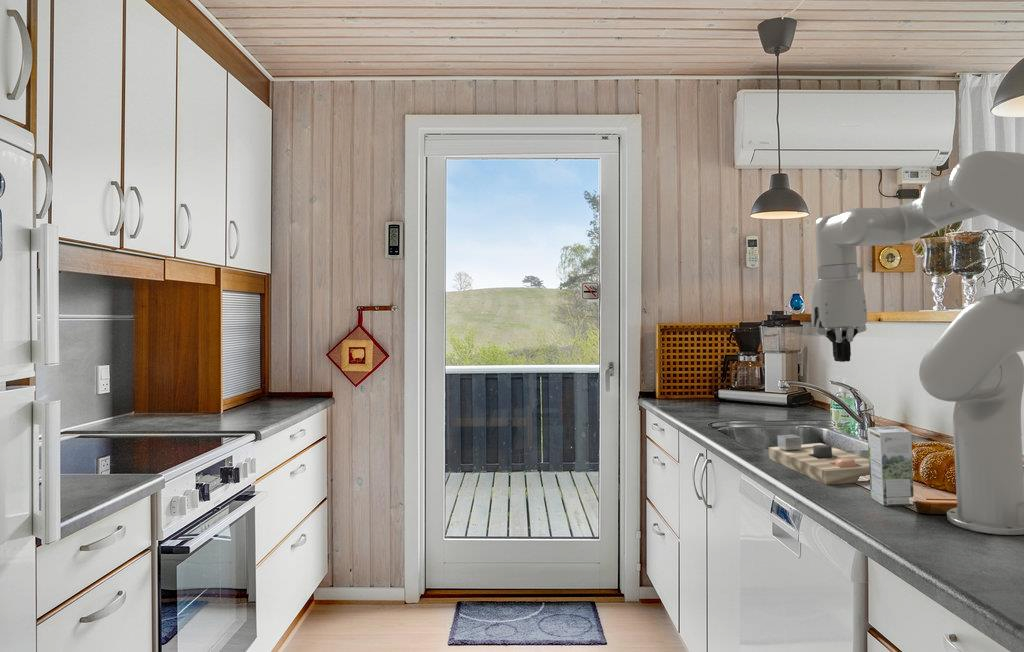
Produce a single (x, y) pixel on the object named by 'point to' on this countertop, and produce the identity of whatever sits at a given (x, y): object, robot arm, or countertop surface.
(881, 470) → the syrup box
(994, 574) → the countertop surface
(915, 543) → the countertop surface
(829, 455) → the black button
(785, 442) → the steel slider
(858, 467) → the light wooden board
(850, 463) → the terracotta button
